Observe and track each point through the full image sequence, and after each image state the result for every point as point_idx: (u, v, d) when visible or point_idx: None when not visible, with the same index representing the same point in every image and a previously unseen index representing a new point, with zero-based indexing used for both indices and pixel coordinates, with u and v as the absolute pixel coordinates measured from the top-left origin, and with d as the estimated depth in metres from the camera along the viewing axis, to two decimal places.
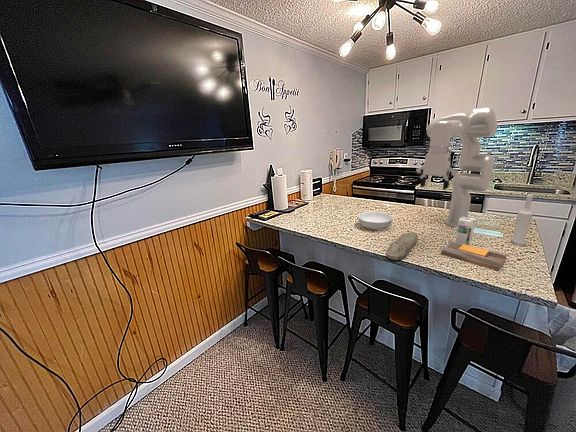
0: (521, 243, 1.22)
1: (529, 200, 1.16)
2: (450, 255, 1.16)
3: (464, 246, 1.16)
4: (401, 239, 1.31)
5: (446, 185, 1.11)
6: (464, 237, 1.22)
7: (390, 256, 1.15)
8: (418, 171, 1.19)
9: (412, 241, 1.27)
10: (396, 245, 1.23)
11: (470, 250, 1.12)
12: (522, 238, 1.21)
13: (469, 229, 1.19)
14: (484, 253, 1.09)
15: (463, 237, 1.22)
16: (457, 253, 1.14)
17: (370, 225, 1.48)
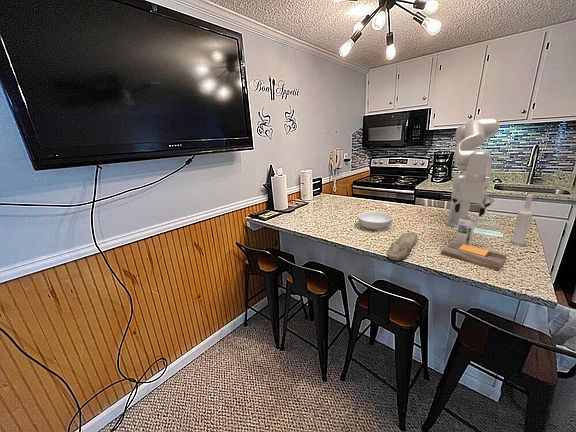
0: (521, 243, 1.22)
1: (529, 200, 1.16)
2: (450, 255, 1.16)
3: (464, 246, 1.16)
4: (401, 239, 1.31)
5: (482, 212, 1.15)
6: (464, 237, 1.22)
7: (392, 256, 1.15)
8: (453, 197, 1.23)
9: (412, 241, 1.27)
10: (397, 245, 1.23)
11: (470, 250, 1.12)
12: (522, 238, 1.21)
13: (469, 229, 1.19)
14: (484, 253, 1.09)
15: (463, 237, 1.22)
16: (457, 253, 1.14)
17: (370, 225, 1.48)
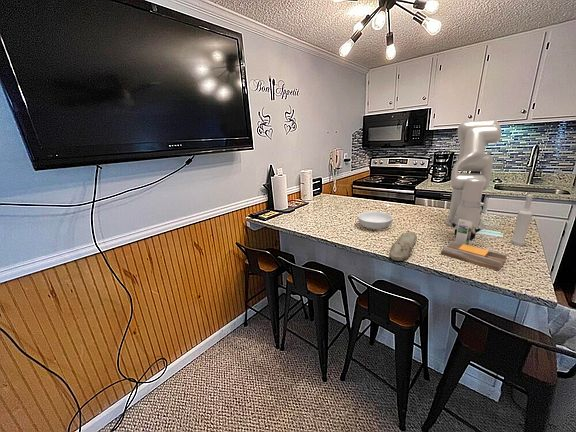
0: (521, 243, 1.22)
1: (529, 200, 1.16)
2: (450, 255, 1.16)
3: (464, 246, 1.16)
4: (401, 239, 1.31)
5: (473, 237, 1.21)
6: (464, 237, 1.22)
7: (394, 257, 1.14)
8: (451, 222, 1.26)
9: (412, 241, 1.28)
10: (398, 246, 1.23)
11: (470, 250, 1.12)
12: (522, 238, 1.21)
13: (469, 229, 1.19)
14: (484, 253, 1.09)
15: (463, 237, 1.22)
16: (457, 253, 1.14)
17: (370, 225, 1.48)
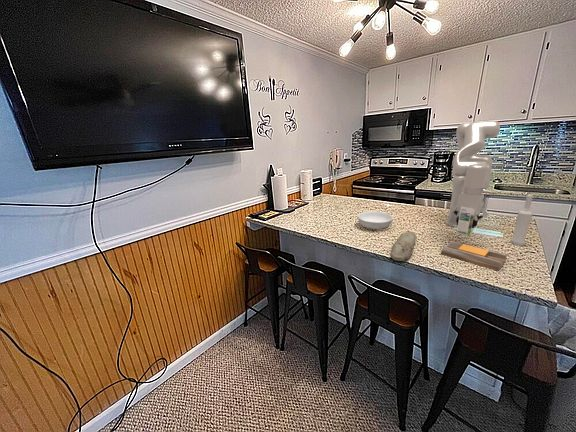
0: (521, 243, 1.22)
1: (529, 200, 1.16)
2: (450, 255, 1.16)
3: (464, 246, 1.16)
4: (401, 239, 1.31)
5: (475, 224, 1.19)
6: (466, 225, 1.20)
7: (396, 257, 1.13)
8: (453, 210, 1.25)
9: (412, 241, 1.28)
10: (399, 246, 1.22)
11: (470, 250, 1.12)
12: (522, 238, 1.21)
13: (471, 216, 1.18)
14: (484, 253, 1.09)
15: (465, 225, 1.21)
16: (457, 253, 1.14)
17: (370, 225, 1.48)
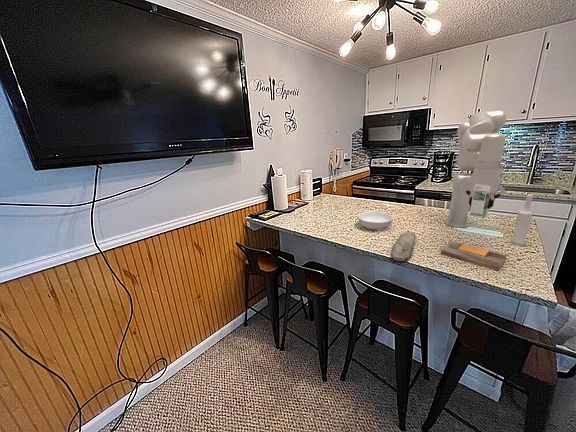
0: (521, 243, 1.22)
1: (529, 200, 1.16)
2: (450, 255, 1.16)
3: (464, 246, 1.16)
4: (401, 239, 1.31)
5: (491, 204, 1.04)
6: (481, 205, 1.05)
7: (397, 258, 1.13)
8: (466, 189, 1.10)
9: (412, 241, 1.28)
10: (399, 246, 1.22)
11: (470, 250, 1.12)
12: (522, 238, 1.21)
13: (487, 195, 1.03)
14: (484, 253, 1.09)
15: (479, 205, 1.06)
16: (457, 253, 1.14)
17: (370, 225, 1.48)
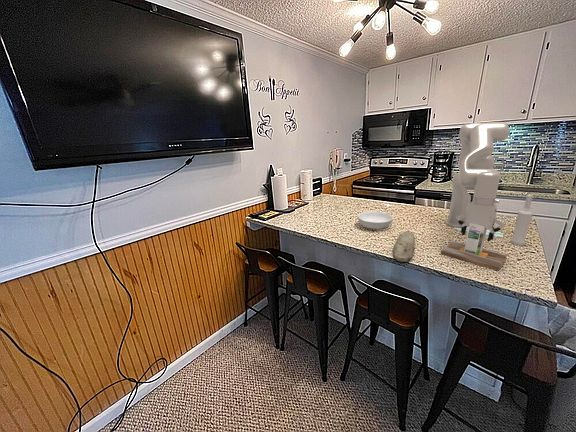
0: (521, 243, 1.22)
1: (529, 200, 1.16)
2: (450, 255, 1.16)
3: (463, 249, 1.17)
4: (401, 239, 1.30)
5: (491, 237, 1.06)
6: (475, 243, 1.09)
7: (400, 258, 1.13)
8: (459, 219, 1.14)
9: (412, 241, 1.28)
10: (400, 246, 1.22)
11: None
12: (522, 238, 1.21)
13: (481, 234, 1.07)
14: (483, 256, 1.09)
15: (474, 243, 1.10)
16: (457, 253, 1.14)
17: (370, 225, 1.48)
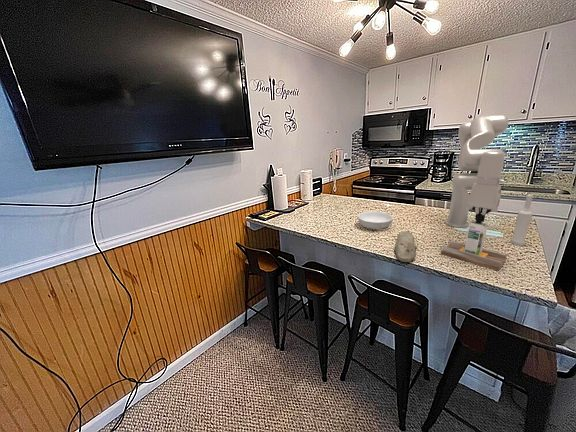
0: (521, 243, 1.22)
1: (529, 200, 1.16)
2: (450, 255, 1.16)
3: (463, 249, 1.17)
4: (401, 239, 1.30)
5: (482, 219, 1.07)
6: (475, 244, 1.09)
7: (403, 259, 1.12)
8: (471, 207, 1.09)
9: (412, 240, 1.28)
10: (402, 246, 1.22)
11: None
12: (522, 238, 1.21)
13: (481, 234, 1.07)
14: (483, 256, 1.09)
15: (474, 243, 1.10)
16: (457, 253, 1.14)
17: (370, 225, 1.48)
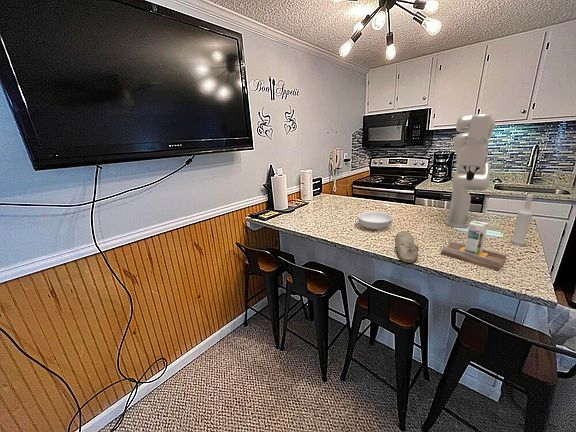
0: (521, 243, 1.22)
1: (529, 200, 1.16)
2: (450, 255, 1.16)
3: (463, 249, 1.17)
4: (401, 239, 1.30)
5: (472, 176, 1.21)
6: (475, 244, 1.09)
7: (407, 259, 1.11)
8: (462, 166, 1.24)
9: (412, 240, 1.29)
10: (403, 247, 1.21)
11: None
12: (522, 238, 1.21)
13: (481, 234, 1.07)
14: (483, 256, 1.09)
15: (474, 243, 1.10)
16: (457, 253, 1.14)
17: (370, 225, 1.48)
